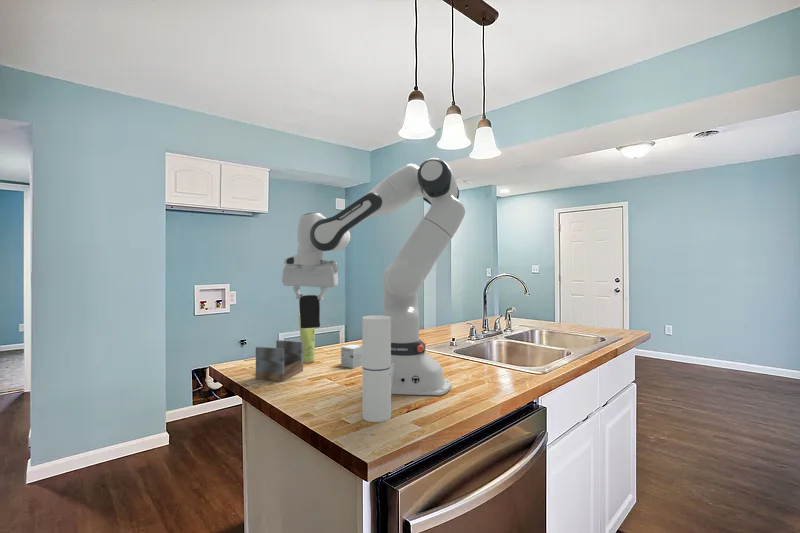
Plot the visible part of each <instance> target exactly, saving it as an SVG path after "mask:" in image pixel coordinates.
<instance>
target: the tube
mask: <svg viewBox="0 0 800 533" xmlns="http://www.w3.org/2000/svg"><path fill="white" fill-rule="evenodd" d="M297 317H298V325H299V335H300V337H299V338H300V340H299V341H302V342H303V364H309V363H311V364H312V363H313V362H315V342H316V340H315V338H316V328H301V322H300V312H298V313H297Z"/></svg>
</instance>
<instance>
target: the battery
mask: <svg viewBox="0 0 800 533" xmlns="http://www.w3.org/2000/svg"><path fill="white" fill-rule="evenodd" d="M298 300H299V301H298V302H299V303H298V304H299V305H298V307H299V313H300V322H301V328H315V329H316V328H318V329H319V328H321V300H318V294H305V295H303V296H301V297H300V299H298Z"/></svg>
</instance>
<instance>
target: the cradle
mask: <svg viewBox="0 0 800 533" xmlns="http://www.w3.org/2000/svg"><path fill="white" fill-rule="evenodd" d="M275 342H276V345H275V346H276V347H265V346H256V347H255V380H259V381H268V382H269V381H271V382H281V383H283V382H284V381H287V380H289V379H290V378H292V377H294V376H297V375H298V374H300V373H302V372H304V363H303V342H302V341H301V340H283V339H278V340H276V341H275Z"/></svg>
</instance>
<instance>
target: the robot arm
mask: <svg viewBox="0 0 800 533" xmlns="http://www.w3.org/2000/svg"><path fill="white" fill-rule="evenodd" d="M456 180H457V179H456V177H455V174H454V173H453V172H452V169H451V167H450V166H449V164H448V163H447V162H446V161H444V160H443V159H441V158H438V157H431V158H427V159H426V160H424V161H423V162H422V163H421V164H419V166H418V165H416V164H413V163H408V164H406V165H404V166H402V167H400V168H398V169H397V170H396V171H395V170H394V171H393V172H392V173H391V174H389V175H388V176H386V177H385V178H383V179H382V180H381V181H380V182H378V183H377V185H375V186H374V187H373V188H372V189H371V190H369V191H368V192H366V193H365V195H363V196H362V197H360V198H359V199H357V200H355V201H354V202H353V203H351V204H350V205H349V206H347V207H345V208H343V209H342V210H341V211H339V212H338V213H336V214H335V215H333V216H331V217H326V216H324V215H323V214H322V213H319V212H308V213H305V214H303V215H301V216H300V217H299V220H298V225H297V242H298V246H297V251H296V254H295V255H291V256H290V257H289V256H288V257H286V258H284V260H283V264H284V267H283V269H282V278H281V280H282V281H281V282H282V285H283V286H285V287H292V288H293V291H294V293H295V296H296V298H295V299H296V300H299V299H300V297H301V296H303V293H301V291H300V289H301V287H308V288H309V287H311V288H313V287H315V288H320V289H319V290H320V293H319V294H317V296H318V300H320V301H324V298H325V294H326V292H327V290H328V288H336V287H337V286H338V285H339V276H338V271H339V270H338V269H339V268H338V267H339V266H338V263H337V262H336V261H334V259H332V260H331V259H330V260H327V259H324V252H327V251H331V252H332V251H333V252H335V251H336V252H337V251H342V250H344V249H346V248H347V247H348V246H349V245H350V242H351V236H352V235H351V232H350V231H351V230H352V229H353V228H355V227H356V226H358V225H359V224H361V223H362V222H363V221H364V220H366V219H369V218H371V217H375V216H383V215H384V216H387V215H390V214H392V213H394V212H396V211H398V210H400V209H401V208H403V207H404V206H406V205H407V204H408V203H410V201H412V200H414V199H415V198H418V197H421V198H422V199H423V201H424V202H426V203H428V204H429V205H430V207H429V209H428V211H427V212H426V214H425V215H424V216H423V217H422V219H421V220H420V222H419V223H418V225H417V226H416V227H415V228H414V230H413V232H412V233H411V235H410V236H409V237H408V238H407V240H406V242H405V243H404V245H403V246H402V248H401V250H400V251H399V252H398V253H397V256H396V257H395V258H394V260H393V261H392V262H391V263H390V264H388V266H387V267H386V268H385V270H384V273H383V275H382V276H383V278H382V279H383V281H382V282H383V315H384V316H390V317H391V395H414V396H442V395H445V394H447V393H448V392H449V391H450V390H451V388H452V382H451V381H450V379H448V378H445V377H444V375H445V374H444V370H443V367H442V365H441V364H440V362H438V361H437V360H435V359H434V358H433V357H432V356H430V355H429V354H428V353H427V352H426V346H427V345H426V344H427V343H426V341H424V342H423V341H422V340H421V339H420V312H419V300H418V299H419V298H418V291H419V289H420V287H421V286H422V285H423V283H424V282H425V280H426V278H427V277H428V275H429V273H430V272H431V270H432V268H433V267H434V265H435V263H436V261H437V260H438V259H439V257H440V255H441V254H442V252H444V250H445V248H446V247H447V246H448V245H449V243H450V242H451V241H452V238H454V236H455V234H456V232H457V231H458V229H459V227H460V226H461V223H463V222H462V221H463V220H464V217H465V214H466V208H465V206H464V204H463V203H462V201H460V200H459V197H460V191H459V187H458V184H457V181H456Z"/></svg>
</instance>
